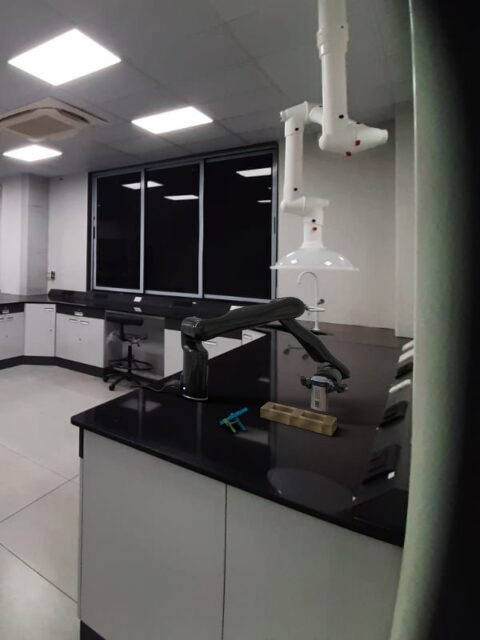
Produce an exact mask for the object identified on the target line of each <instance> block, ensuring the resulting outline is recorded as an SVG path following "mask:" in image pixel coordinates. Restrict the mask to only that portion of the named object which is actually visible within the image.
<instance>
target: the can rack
mask: <svg viewBox="0 0 480 640" xmlns="http://www.w3.org/2000/svg"><path fill="white" fill-rule="evenodd" d="M259 411H260V412H259V413H260V416H259V417H260V418H261V419H266V420H269V421H272V422H276V423H280V424H284V425H288V426H291V427H295V428H299V429H303V430H307V431H311V432H315V433H318V434H321V435H325V436H329V437H332V436H333V435H334V433H335V432H336V430H337V428H338V417H336V416H331V415H327V414H322V413H320V412H319V413H318V412H314V411H310V410H305V409H302V408H297V407H294V406H289V405H285V404H280V403H276V402H272V401H267V402H266V403H265V404H263V405H262V406H261V407H260V410H259Z"/></svg>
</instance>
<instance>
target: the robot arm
mask: <svg viewBox="0 0 480 640" xmlns="http://www.w3.org/2000/svg"><path fill="white" fill-rule="evenodd" d="M305 312H306V304H305V302H304V301H303V300H301V299H300V298H299V297H296V296H283V297H276V298H273V299H271V300H270V301H269V302H268V303H261V304H254V305H253V304H252V305H245V306H241V307H236V308H233V309H231V310H229V311H227V312H226V313H225V314H224V315H222V316H219V317H214V318H200V317H195V316H188V317H186V318H184V319H183V320H182V322H181V324H180V347H181V349H182V372H181V373H180V380H178V381H175V382H173V383H168V384H165V385H164V386H163V387H162V388H161V389H156V388H154V387H152V386H148V385H142V384H141V385H136V384H135V385H130V388H134V389H135V388H136V389H137V388H139V389H141V388H143V387H145V388H143V389H147V390H151V391H153V392H155V393H162V392H164V391H165V390H166V389H167V388H168V387H173V389H175V390H179V397H183V398H184V399H186V400H190V401H194V402H207V401H208V400H209V398H208V397H209V395H208V394H209V393H208V392H209V351H208V349H207V348H206V347H205V346H204V344H203V342H208V341H211V340H214V339H216V338H218V337H222V336H225V335H229V334H233V333H238V332H242V331H247V330H252V329H255V328H259V327H263V326H265V325H267V324H268V325H269V324H271V323H274V322H278V323H279V324H281V326H283V327H284V329H285V330H287V332H288V333H290V335H291V336H292V337H293V338H295V340H296V341H297V342H298V343H299V344H300V345H301V347H302V348H303V350H304V351H305V352H306V354H307V355H308V356H309V357H310V358H311V360H312V361H313V362H315V363H318V364H320V363H322V364H323V363H324V364H323V365H320V366H318V367H317V368H316V372H314V374H313V375H312V377H309V378H307V377H306V376H305V375H300V379H299V380H300V384H301V386H303V387H305V388H307V390H311V378H313V376H321V377H325V378H327V379H328V381H329V382H328V387H327V393H328V394H332V393H335V392H336V393H337V394H344V393H346V392H348V391H349V390H348V389H349V388H348V386H349V385H348V384H347V383H341V382H342V381H344V380H348V379H350V378H351V377H352V371H351V369H350V367H349V366H348V365H347V364H346V363H345V362H343V361H342V360H341V359H339V358H338V357H336V356H335V355H334V354H333V353H332V352H331V351H330V349H329V348H328V347H327V345H326V344H325V343H324V342H323V341H322V339H321V338H320V337H319V336H317V334H315V333H313V332H312V331H310V330H309V329H308V328H306V327H305V326H303V325H302V324H301V323H300V322H299V321H298V320H297V318H300V317H302V316H303V315H304V314H305ZM325 363H326V364H325Z"/></svg>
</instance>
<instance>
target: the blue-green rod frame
mask: <svg viewBox="0 0 480 640" xmlns="http://www.w3.org/2000/svg"><path fill="white" fill-rule="evenodd" d="M247 411H249V409H248V408H247V407H244V408H242V409H240V410H238V411H235V412H234V413H233V412H231V413H230V415H229V416H228V417H226V418H223V419H222V420H220V421H219V424H220V425H221V426H222V425H224V424H225V425H226V427H229V428H230V429H231V431H232V432H233V433H237V431H236V429H235V428H234V427H233V424H237V425H238V426H239V427H240V429H241V430H242V431H244V432H245V431H246V430H247V428H246V427H245V426H244V424H243V423H242V422H241V420H240V418H239V417H240V416H241V415H242V414H244V413H246V412H247ZM232 420H233V421H232Z"/></svg>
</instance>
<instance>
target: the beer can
mask: <svg viewBox="0 0 480 640" xmlns="http://www.w3.org/2000/svg"><path fill="white" fill-rule="evenodd" d="M312 377H313V378H312ZM312 377H310V378H311V389H310V408H311V409H312V410H314V411H316V412H319V413H320V412H322V413H326V412H328V411H329V393H327V387H328V382H329V381H328V379H327V378H325V377H321V376H313V375H312Z"/></svg>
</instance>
